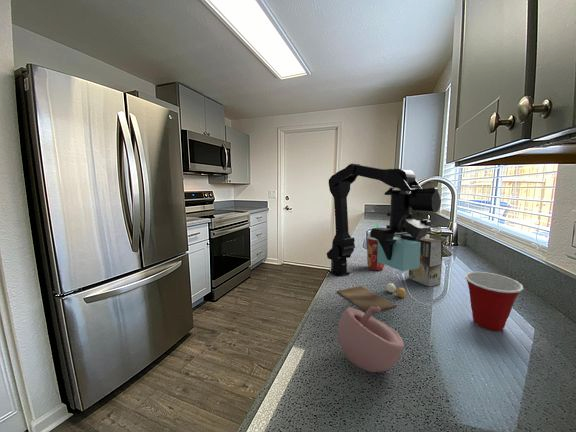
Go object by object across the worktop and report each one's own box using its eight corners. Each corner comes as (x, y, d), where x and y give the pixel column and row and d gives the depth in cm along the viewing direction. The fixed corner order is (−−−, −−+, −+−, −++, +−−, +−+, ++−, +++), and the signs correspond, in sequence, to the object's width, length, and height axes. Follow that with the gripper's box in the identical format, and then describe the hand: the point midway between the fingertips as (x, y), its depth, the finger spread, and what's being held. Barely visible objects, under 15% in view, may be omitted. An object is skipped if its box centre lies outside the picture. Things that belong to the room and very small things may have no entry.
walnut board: (337, 292, 77) (337, 290, 77) (360, 287, 81) (360, 285, 81) (369, 314, 64) (369, 312, 64) (396, 306, 68) (396, 305, 68)
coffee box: (441, 284, 84) (445, 240, 82) (428, 287, 82) (431, 242, 80) (419, 275, 92) (422, 236, 91) (407, 277, 90) (409, 237, 89)
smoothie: (389, 271, 97) (391, 224, 95) (369, 271, 97) (371, 224, 95) (381, 265, 105) (383, 221, 103) (362, 265, 105) (364, 221, 103)
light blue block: (377, 261, 78) (378, 238, 77) (392, 259, 81) (393, 236, 80) (402, 271, 69) (404, 244, 68) (419, 268, 72) (420, 242, 71)
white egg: (383, 291, 78) (384, 282, 78) (390, 289, 80) (390, 281, 79) (390, 294, 76) (391, 285, 75) (397, 293, 77) (398, 284, 77)
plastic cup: (465, 330, 56) (469, 282, 55) (457, 310, 66) (461, 269, 65) (526, 344, 51) (532, 291, 50) (508, 320, 61) (513, 275, 60)
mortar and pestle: (417, 382, 41) (421, 321, 40) (354, 395, 38) (357, 329, 37) (377, 340, 53) (379, 291, 51) (327, 347, 50) (328, 296, 49)
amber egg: (393, 295, 75) (393, 286, 74) (400, 294, 76) (400, 285, 76) (401, 299, 72) (401, 290, 72) (408, 298, 73) (408, 288, 73)
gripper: (400, 213, 62) (397, 270, 63) (445, 211, 69) (441, 262, 71) (369, 210, 72) (367, 259, 74) (412, 208, 79) (409, 253, 81)
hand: (397, 258), depth 74 cm, fingers closed on light blue block, 7 cm apart
